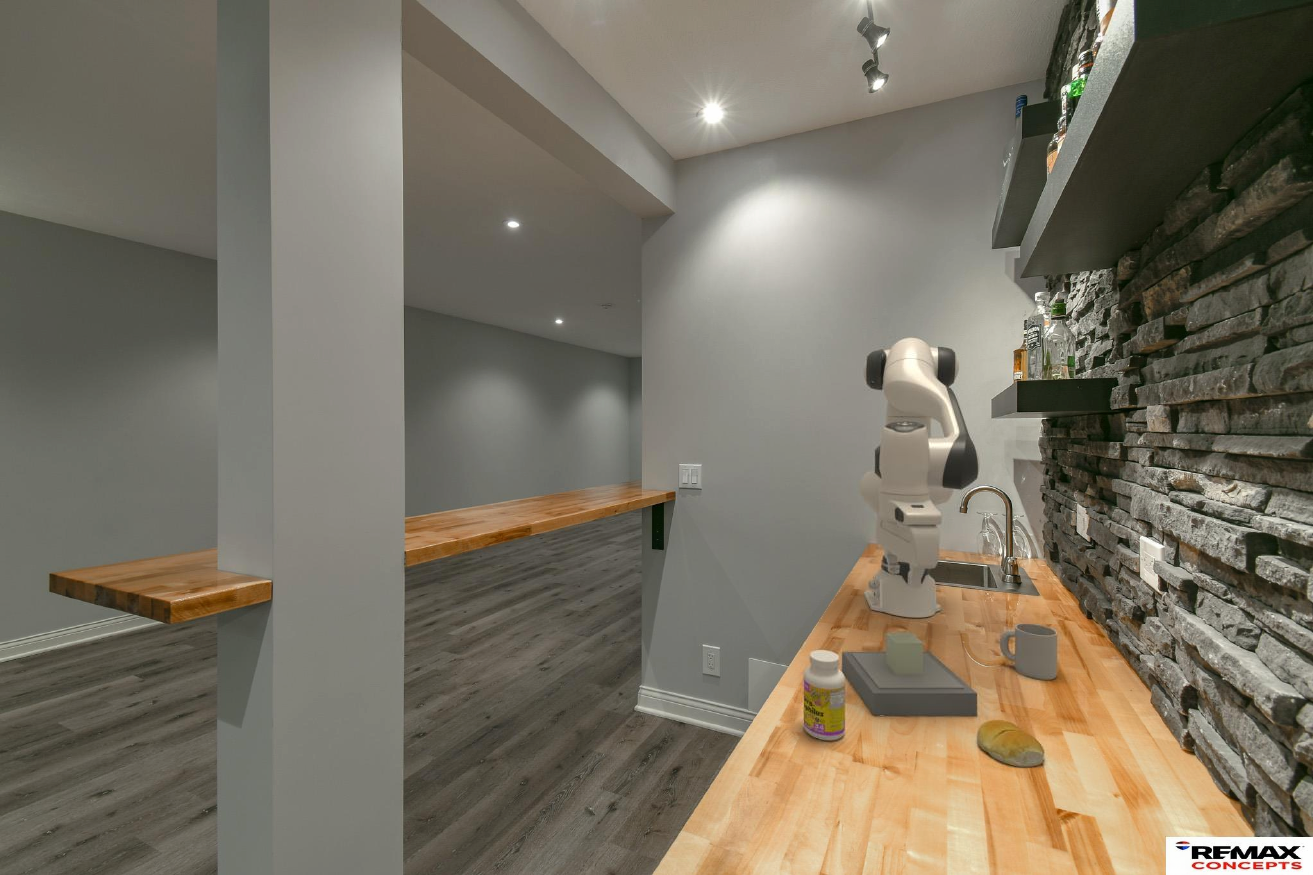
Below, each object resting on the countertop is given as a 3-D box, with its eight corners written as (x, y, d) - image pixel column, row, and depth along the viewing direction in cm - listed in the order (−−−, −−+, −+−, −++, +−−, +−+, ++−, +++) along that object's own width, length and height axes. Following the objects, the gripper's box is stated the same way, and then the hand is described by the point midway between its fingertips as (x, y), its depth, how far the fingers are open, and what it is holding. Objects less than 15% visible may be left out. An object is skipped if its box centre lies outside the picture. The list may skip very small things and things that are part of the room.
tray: (842, 670, 117) (842, 650, 117) (929, 670, 117) (929, 650, 117) (873, 715, 99) (873, 691, 99) (977, 715, 99) (977, 691, 99)
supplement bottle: (795, 725, 96) (795, 651, 96) (826, 717, 99) (826, 644, 99) (821, 746, 90) (821, 666, 90) (854, 736, 93) (854, 659, 92)
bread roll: (1009, 733, 94) (1010, 710, 94) (1054, 766, 85) (1055, 740, 85) (964, 737, 93) (964, 713, 92) (1004, 771, 84) (1004, 744, 84)
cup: (1054, 684, 111) (1054, 639, 110) (995, 669, 117) (996, 627, 117) (1059, 671, 116) (1059, 628, 116) (1003, 658, 123) (1003, 617, 122)
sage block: (885, 663, 111) (885, 633, 110) (911, 663, 111) (911, 632, 110) (896, 674, 106) (896, 642, 105) (923, 674, 106) (923, 642, 105)
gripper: (867, 499, 118) (867, 565, 118) (909, 516, 97) (909, 596, 98) (898, 499, 118) (898, 565, 118) (946, 516, 97) (946, 596, 98)
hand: (903, 579), depth 108 cm, fingers open, 8 cm apart
